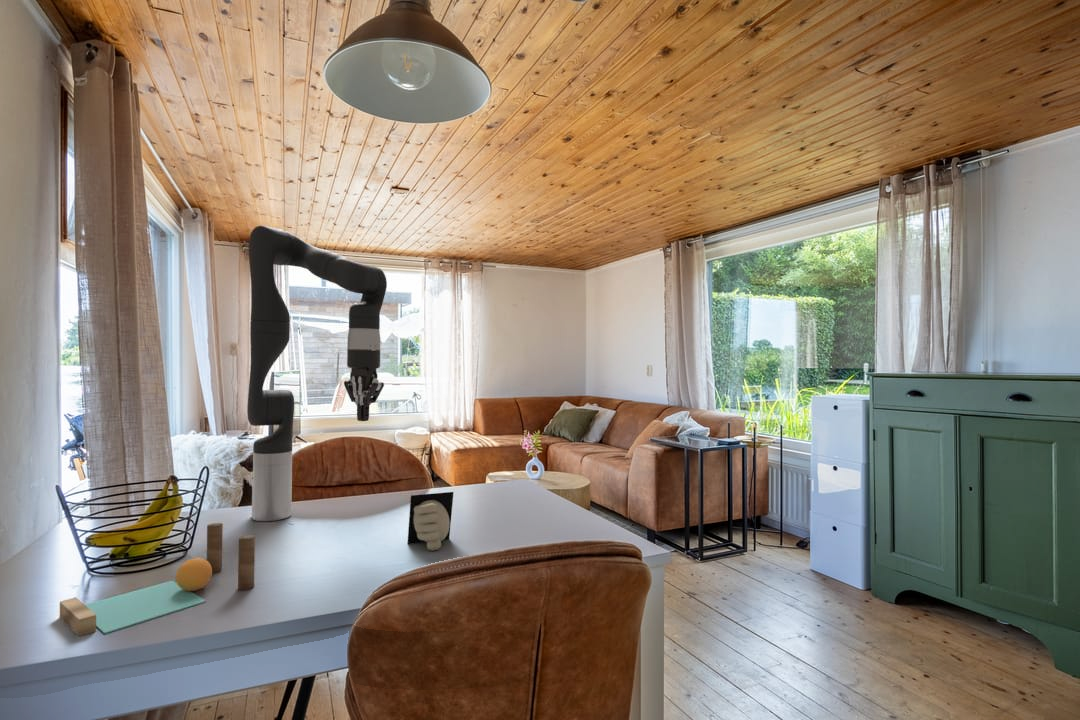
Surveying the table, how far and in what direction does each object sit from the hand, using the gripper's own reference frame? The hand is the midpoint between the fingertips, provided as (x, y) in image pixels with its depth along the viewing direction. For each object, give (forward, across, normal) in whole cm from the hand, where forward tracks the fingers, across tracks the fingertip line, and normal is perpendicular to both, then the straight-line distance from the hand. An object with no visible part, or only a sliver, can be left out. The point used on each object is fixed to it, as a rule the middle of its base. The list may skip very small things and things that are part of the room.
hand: (363, 420), depth 131 cm
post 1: (+27, -2, -32) cm, 42 cm away
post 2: (+27, +10, -32) cm, 43 cm away
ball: (+24, +4, -38) cm, 45 cm away
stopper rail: (+27, +4, -54) cm, 61 cm away
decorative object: (+27, +20, +4) cm, 34 cm away
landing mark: (+27, +4, -46) cm, 53 cm away
